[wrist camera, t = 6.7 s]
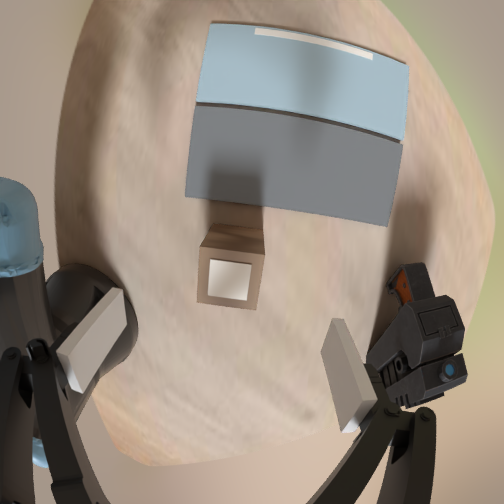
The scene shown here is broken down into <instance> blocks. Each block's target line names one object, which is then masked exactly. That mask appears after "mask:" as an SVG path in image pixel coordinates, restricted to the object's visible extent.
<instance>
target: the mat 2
mask: <svg viewBox="0 0 504 504" xmlns="http://www.w3.org/2000/svg"><path fill="white" fill-rule="evenodd" d="M402 148H403V145H402V144H399V143H396V142H393V141H390V140H387V139H384V138H381V137H377V136H374V135H371V134H367V133H364V132H360V131H356V130H353V129H349V128H345V127H341V126H337V125H332V124H328V123H324V122H319V121H314V120H309V119H304V118H299V117H293V116H288V115H282V114H275V113H268V112H261V111H253V110H244V109H234V108H223V107H208V106H195V110H194V117H193V125H192V132H191V140H190V149H189V158H188V167H187V178H186V189H185V197H191V198H201V199H210V200H219V201H227V202H235V203H243V204H251V205H258V206H266V207H273V208H280V209H287V210H293V211H300V212H306V213H312V214H319V215H325V216H330V217H336V218H342V219H348V220H353V221H359V222H364V223H369V224H374V225H379V226H385V227H387V226H388V222H389V217H390V213H391V209H392V204H393V200H394V195H395V190H396V185H397V179H398V174H399V168H400V162H401V155H402Z"/></svg>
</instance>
